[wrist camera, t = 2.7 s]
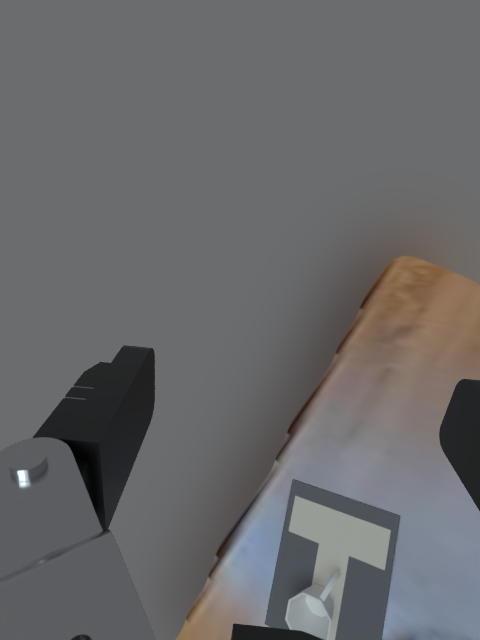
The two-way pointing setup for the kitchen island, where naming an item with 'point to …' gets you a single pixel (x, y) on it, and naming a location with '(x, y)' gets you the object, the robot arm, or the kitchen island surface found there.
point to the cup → (313, 609)
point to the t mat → (336, 560)
